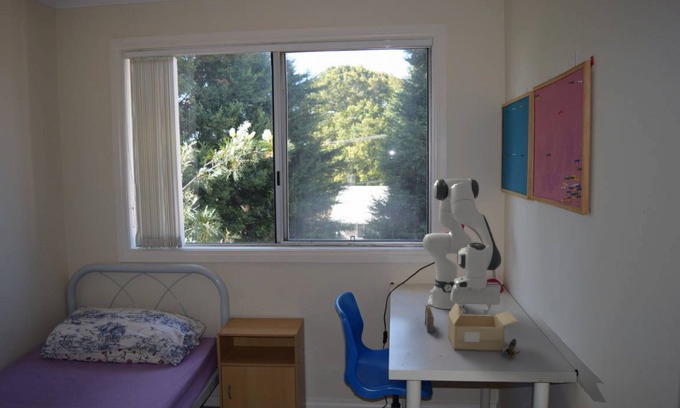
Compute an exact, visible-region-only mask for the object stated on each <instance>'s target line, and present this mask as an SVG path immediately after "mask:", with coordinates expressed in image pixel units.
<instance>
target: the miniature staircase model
mask: <svg viewBox="0 0 680 408" xmlns="http://www.w3.org/2000/svg"><path fill="white" fill-rule="evenodd" d="M424 306H425V312H424V314H425V316H424V324H425V327H426V332H427V333H434V314H433V311H432V308H431V307H432V306H429V305H426V304H424Z"/></svg>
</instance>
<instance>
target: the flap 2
mask: <svg viewBox="0 0 680 408" xmlns="http://www.w3.org/2000/svg"><path fill="white" fill-rule="evenodd" d="M494 316H495V317H496V318H497V319H498V320H499V322H500V323H501V324H502V325H503V327H504V328H505V327H508V326H510V325H513V324H517V323H518V322H519V321H518V320H517V318H516V317H515V316H514V315H513V314H512V312H511V311H510V310H506V311H503V312H500V313H497V314H495V315H494Z"/></svg>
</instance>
